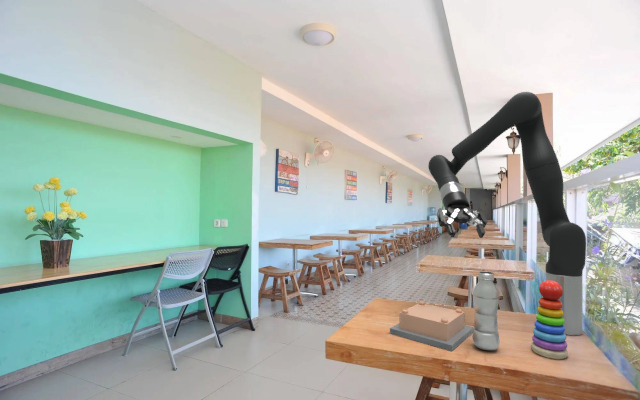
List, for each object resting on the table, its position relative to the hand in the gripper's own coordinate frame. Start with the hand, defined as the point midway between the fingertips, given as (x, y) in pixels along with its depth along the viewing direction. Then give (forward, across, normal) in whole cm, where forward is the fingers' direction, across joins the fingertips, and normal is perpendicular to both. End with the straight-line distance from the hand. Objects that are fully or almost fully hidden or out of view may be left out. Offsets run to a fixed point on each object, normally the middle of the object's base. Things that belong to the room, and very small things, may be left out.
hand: (468, 235), depth 101 cm
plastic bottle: (+29, 0, +12) cm, 31 cm away
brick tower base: (+21, -11, +20) cm, 31 cm away
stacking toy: (+30, +15, +11) cm, 35 cm away
